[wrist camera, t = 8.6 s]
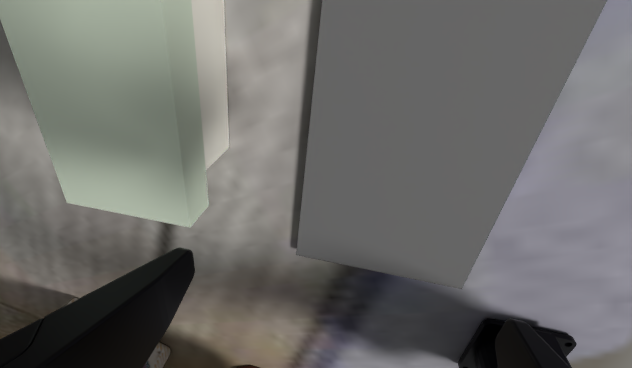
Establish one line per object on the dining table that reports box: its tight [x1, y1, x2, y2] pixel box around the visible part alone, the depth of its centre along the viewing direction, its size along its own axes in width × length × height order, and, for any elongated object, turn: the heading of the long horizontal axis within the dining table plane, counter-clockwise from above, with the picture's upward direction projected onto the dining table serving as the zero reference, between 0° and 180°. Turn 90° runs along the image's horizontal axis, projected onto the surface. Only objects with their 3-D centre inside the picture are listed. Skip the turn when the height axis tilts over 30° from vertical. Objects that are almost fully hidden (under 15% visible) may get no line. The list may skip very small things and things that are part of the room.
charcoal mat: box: [296, 0, 607, 289], centre depth 19 cm, size 18×12×1 cm, turn 174°
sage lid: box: [0, 0, 209, 228], centre depth 13 cm, size 14×7×2 cm, turn 174°
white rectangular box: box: [191, 0, 229, 170], centre depth 16 cm, size 11×6×4 cm, turn 174°
